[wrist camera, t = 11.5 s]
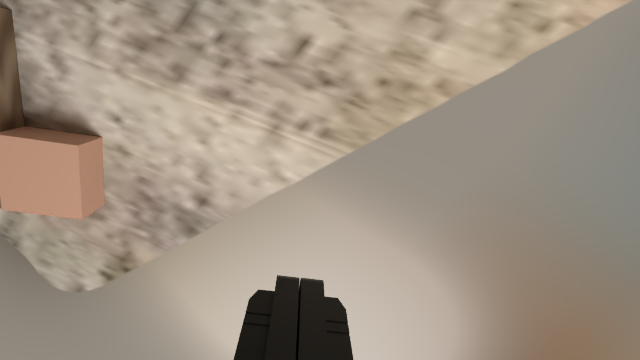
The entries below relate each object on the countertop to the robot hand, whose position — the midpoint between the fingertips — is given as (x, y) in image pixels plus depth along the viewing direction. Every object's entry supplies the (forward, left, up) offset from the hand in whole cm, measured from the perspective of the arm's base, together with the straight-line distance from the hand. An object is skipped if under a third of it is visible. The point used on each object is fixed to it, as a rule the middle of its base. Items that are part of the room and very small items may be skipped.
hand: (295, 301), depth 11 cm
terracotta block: (+8, -26, -29) cm, 40 cm away
